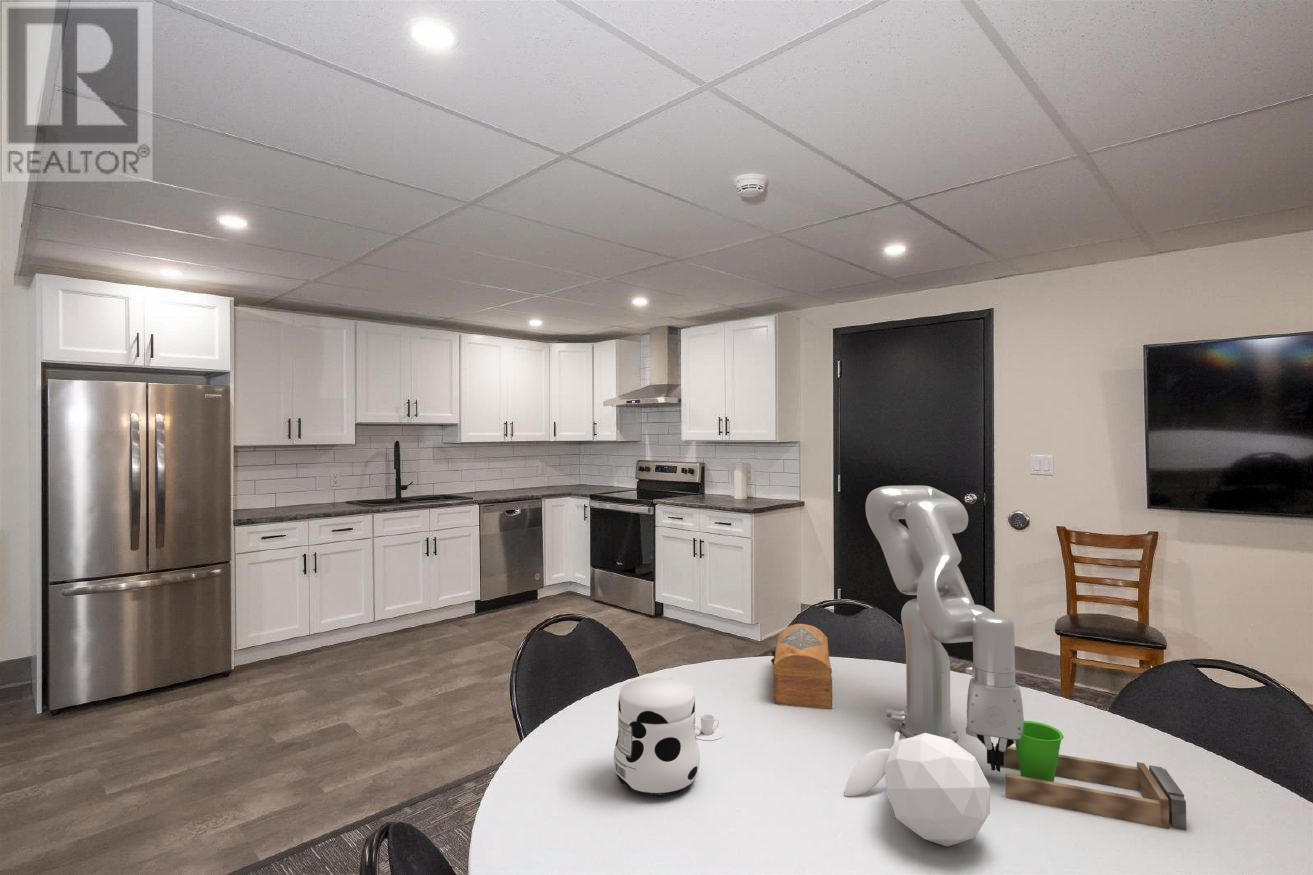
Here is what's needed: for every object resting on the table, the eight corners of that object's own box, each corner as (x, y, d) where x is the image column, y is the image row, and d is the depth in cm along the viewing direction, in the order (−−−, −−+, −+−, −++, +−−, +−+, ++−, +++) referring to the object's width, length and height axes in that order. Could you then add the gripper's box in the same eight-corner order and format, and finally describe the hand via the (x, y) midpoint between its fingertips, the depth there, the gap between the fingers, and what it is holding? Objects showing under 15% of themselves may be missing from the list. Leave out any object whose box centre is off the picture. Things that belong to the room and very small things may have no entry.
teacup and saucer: (682, 738, 149) (682, 720, 149) (693, 724, 156) (693, 707, 156) (718, 744, 146) (718, 726, 146) (728, 730, 153) (728, 713, 153)
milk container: (709, 767, 135) (709, 681, 135) (685, 811, 118) (685, 712, 119) (632, 754, 140) (632, 671, 141) (599, 794, 124) (599, 700, 124)
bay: (1006, 797, 123) (1006, 769, 123) (999, 763, 136) (999, 738, 136) (1189, 832, 112) (1188, 801, 112) (1162, 791, 125) (1161, 763, 125)
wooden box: (773, 667, 197) (773, 621, 198) (829, 671, 194) (828, 625, 194) (767, 704, 168) (767, 651, 168) (832, 710, 164) (832, 656, 165)
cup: (1072, 800, 122) (1071, 742, 122) (1020, 795, 124) (1019, 738, 124) (1053, 777, 131) (1052, 722, 131) (1004, 772, 132) (1004, 718, 133)
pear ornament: (975, 740, 103) (899, 680, 131) (863, 827, 101) (811, 747, 129) (1034, 823, 103) (945, 745, 131) (923, 911, 101) (858, 813, 129)
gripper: (953, 677, 130) (955, 769, 130) (1039, 688, 124) (1040, 784, 123) (953, 666, 137) (954, 753, 136) (1034, 675, 131) (1035, 767, 130)
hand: (995, 767), depth 130 cm, fingers closed
